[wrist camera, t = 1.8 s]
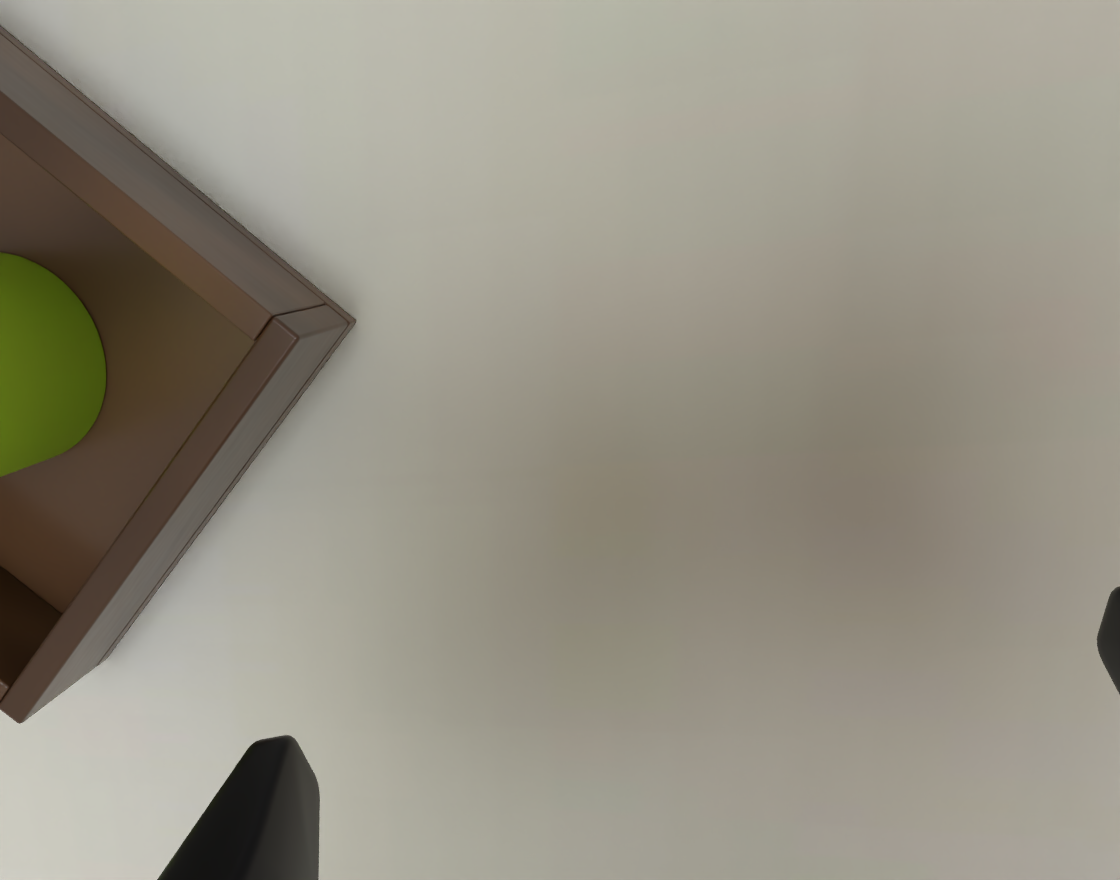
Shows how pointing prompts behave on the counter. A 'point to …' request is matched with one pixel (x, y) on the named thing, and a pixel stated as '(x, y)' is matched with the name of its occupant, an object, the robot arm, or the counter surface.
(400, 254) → the counter surface
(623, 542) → the counter surface
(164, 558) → the crate
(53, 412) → the soap dispenser
